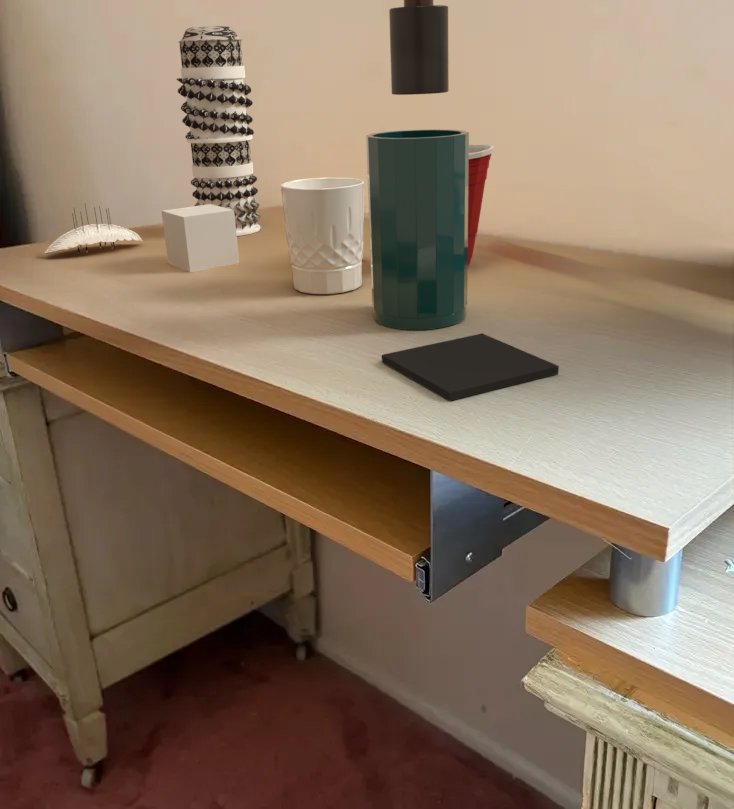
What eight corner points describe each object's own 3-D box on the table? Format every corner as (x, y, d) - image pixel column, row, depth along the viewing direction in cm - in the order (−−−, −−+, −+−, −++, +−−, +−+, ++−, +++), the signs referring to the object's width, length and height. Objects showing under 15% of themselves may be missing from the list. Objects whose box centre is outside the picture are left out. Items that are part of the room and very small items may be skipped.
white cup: (276, 283, 84) (268, 182, 80) (346, 272, 87) (341, 175, 83) (307, 301, 77) (300, 191, 73) (382, 288, 80) (378, 183, 77)
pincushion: (51, 262, 97) (42, 213, 95) (40, 254, 102) (31, 207, 100) (150, 248, 103) (144, 201, 101) (135, 240, 108) (129, 196, 105)
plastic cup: (391, 255, 94) (388, 144, 90) (487, 252, 94) (489, 141, 89) (390, 278, 84) (387, 155, 79) (497, 275, 84) (500, 151, 79)
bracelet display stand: (179, 234, 111) (154, 29, 101) (228, 222, 118) (209, 29, 108) (228, 240, 106) (207, 24, 96) (276, 227, 113) (261, 25, 103)
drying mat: (482, 340, 65) (482, 333, 64) (558, 374, 57) (559, 365, 57) (381, 362, 61) (381, 354, 61) (449, 401, 53) (449, 392, 53)
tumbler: (433, 298, 76) (432, 127, 71) (485, 319, 70) (488, 132, 64) (357, 313, 73) (349, 134, 67) (403, 335, 66) (399, 140, 61)
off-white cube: (190, 273, 90) (183, 217, 88) (168, 263, 95) (161, 210, 92) (239, 263, 93) (234, 209, 91) (216, 255, 98) (210, 203, 95)
